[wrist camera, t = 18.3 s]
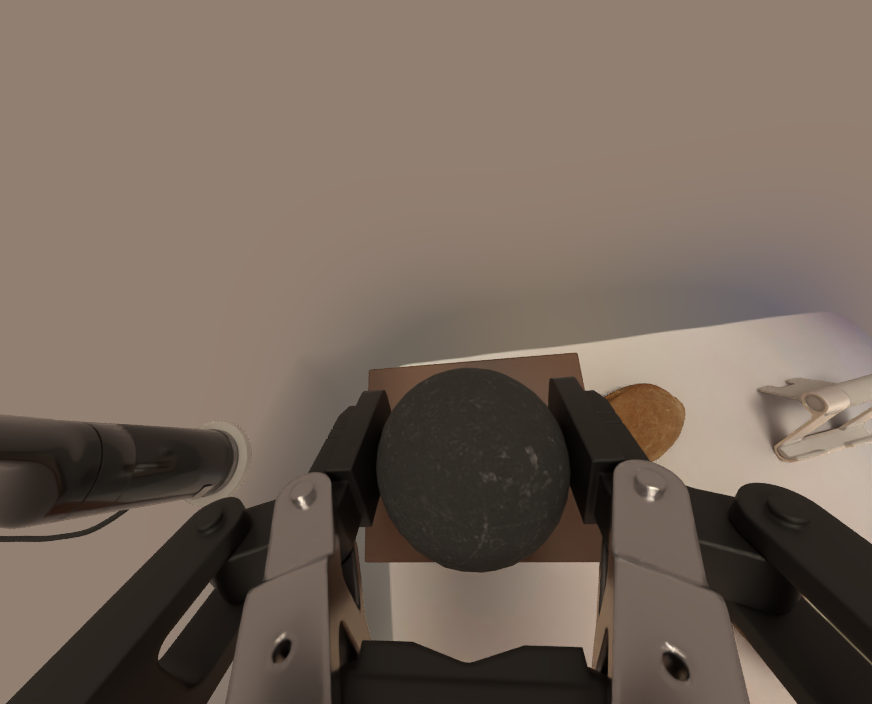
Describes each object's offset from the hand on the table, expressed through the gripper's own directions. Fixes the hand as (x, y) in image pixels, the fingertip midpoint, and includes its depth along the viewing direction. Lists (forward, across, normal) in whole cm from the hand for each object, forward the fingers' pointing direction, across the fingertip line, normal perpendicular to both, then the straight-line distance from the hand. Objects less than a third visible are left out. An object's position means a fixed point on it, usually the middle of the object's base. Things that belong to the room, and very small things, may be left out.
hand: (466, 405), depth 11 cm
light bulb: (+3, 0, +6) cm, 7 cm away
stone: (+22, -18, +21) cm, 35 cm away
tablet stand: (+22, -36, +21) cm, 47 cm away
